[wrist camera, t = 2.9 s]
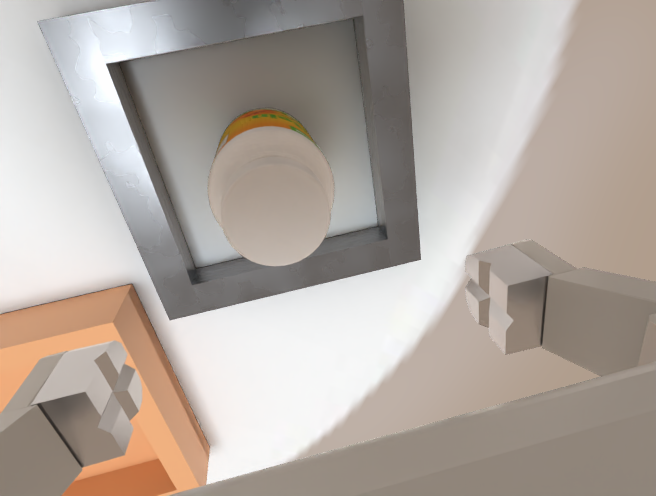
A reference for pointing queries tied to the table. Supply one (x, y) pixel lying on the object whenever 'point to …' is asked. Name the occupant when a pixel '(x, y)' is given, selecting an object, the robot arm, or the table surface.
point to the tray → (156, 379)
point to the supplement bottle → (271, 188)
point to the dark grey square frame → (143, 174)
